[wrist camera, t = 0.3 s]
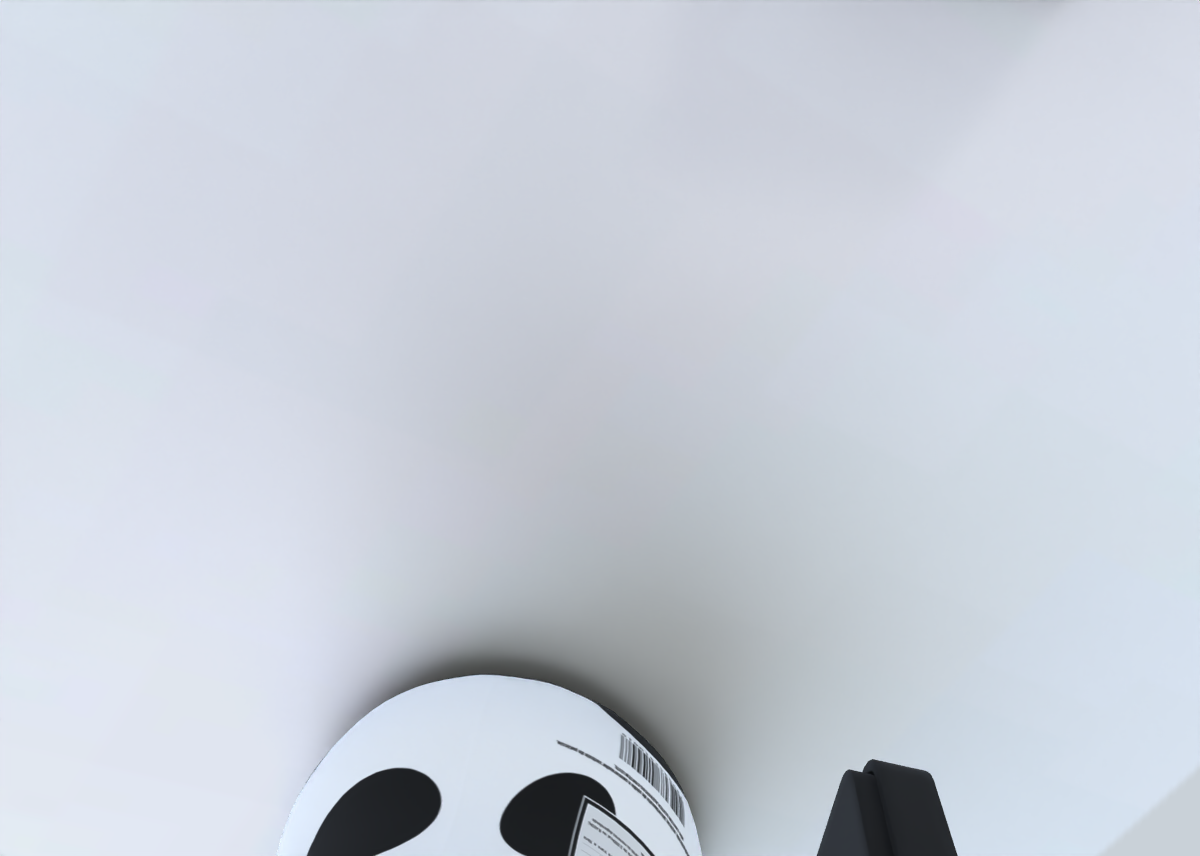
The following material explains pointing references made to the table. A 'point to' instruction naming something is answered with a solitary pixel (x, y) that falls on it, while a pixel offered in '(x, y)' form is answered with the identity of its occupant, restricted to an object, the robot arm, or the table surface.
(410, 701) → the milk container
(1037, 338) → the table surface
